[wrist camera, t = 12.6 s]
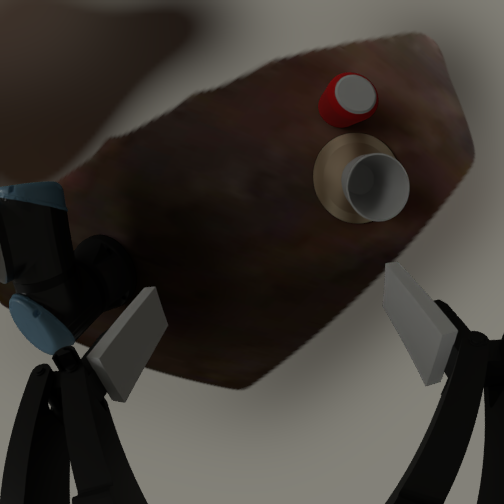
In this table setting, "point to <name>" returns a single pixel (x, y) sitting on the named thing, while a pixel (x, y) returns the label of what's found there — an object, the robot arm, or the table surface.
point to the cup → (376, 186)
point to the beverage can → (348, 100)
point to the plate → (332, 168)
